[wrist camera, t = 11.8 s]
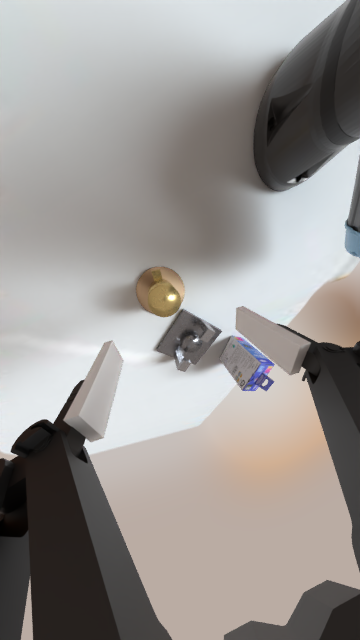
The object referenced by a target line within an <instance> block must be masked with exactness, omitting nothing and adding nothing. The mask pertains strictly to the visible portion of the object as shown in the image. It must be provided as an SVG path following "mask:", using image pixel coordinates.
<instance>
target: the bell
mask: <svg viewBox="0 0 360 640" xmlns="http://www.w3.org/2000/svg"><path fill="white" fill-rule="evenodd" d="M151 272H152V275H153V279H154V282H152V283H151V285H150V286H149V289H148V306H149V308H150V310H151V311H152V312H153V313H154V314H155V315H157V316H160V317H169V316H171V315H173V314H175V313H176V312H177V311H178V309H179V307H180V305H181V297H180V295H179V293H178V291H177V290H176V289H175V288H174V286H173V285H172V284H171V283H170V282H169V281H167V280H165V279H162V275H161V271H160V269H157V270H153V271H151Z"/></svg>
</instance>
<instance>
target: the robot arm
mask: <svg viewBox="0 0 360 640" xmlns="http://www.w3.org/2000/svg"><path fill="white" fill-rule="evenodd" d="M359 138H360V0H346V1H345V2H344V3H343V4H342V5H341V6H340V7H338V8H337V9H336V10H335V11H334V12H333V13H332V14H330V15H329V16H328V17H327V18H326V19H325V20H324V21H322V22H321V23H320V24H319V25H318V26H317V27H316V28H314V29H313V30H312V31H311V32H310V33H309V34H308V35H307V36H305V37H304V38H303V39H302V40H301V41H300V42H299V43H298V44H297V45H296V46H295V47H294V49H293V50H292V51H291V52H290V53H289V55H288V56H287V57H286V59H285V60H284V62H283V63H282V65H281V66H280V68H279V69H278V71H277V72H276V73H275V75H274V76H273V78H272V80H271V81H270V83H269V85H268V87H267V89H266V91H265V94H264V96H263V99H262V102H261V104H260V108H259V111H258V115H257V120H256V125H255V134H254V155H255V161H256V166H257V169H258V172H259V175H260V177H261V178H262V180H263V181H264V183H265V184H266V185H267V186H268V187H270V188H271V189H273V190H277V191H284V190H288V189H290V188H293V187H295V186H297V185H299V184H301V183H303V182H304V181H306V180H307V179H309V178H310V177H311V176H312V175H314V174H315V173H316V172H317V171H318V170H319V169H321V168H322V167H323V166H324V165H325V164H326V163H328V162H329V161H330V160H331V159H332V158H333V157H335V156H336V155H337V154H338V153H339V152H340V151H342V150H343V149H344V148H345V147H346V146H347V145H349V144H350V143H352V142H354V141H356V140H357V139H359ZM345 228H346V237H345V248H346V250H347V251H348V252H349V253H350V254H352V255H353V256H356V257H359V258H360V156H359V162H358V168H357V174H356V180H355V186H354V191H353V197H352V202H351V207H350V212H349V217H348V219H347V221H346V222H345ZM236 330H237V331H238V332H240V333H241V334H242V335H243V336H244V337H245V338H247V339H248V340H249V341H250V342H251V343H252V344H254V345H255V346H256V347H257V348H258V349H259V350H261V351H262V352H263V353H264V354H265V355H267V356H268V357H269V358H270V359H271V360H272V361H274V362H275V363H276V364H277V365H278V366H279V367H281V368H282V369H283V370H284V371H285V372H287V373H288V374H289V375H293V374H295V373H299V371H300V369H301V366H302V367H303V368H305V369H306V371H305V373H304V375H303V378H302V381H305V378H307V382H308V384H309V387H310V390H311V394H312V397H313V400H314V403H315V406H316V409H317V412H318V416H319V419H320V422H321V425H322V428H323V431H324V434H325V437H326V441H327V444H328V447H329V450H330V453H331V456H332V460H333V463H334V466H335V469H336V472H337V475H338V479H339V482H340V485H341V488H342V491H343V494H344V497H345V501H346V504H347V507H348V510H349V513H350V517H351V520H352V545H353V549H354V553H355V557H356V560H357V564H358V567H359V571H360V341H359V342H357V343H356V345H355V346H354V347H350V348H342V347H340V346H338V345H335V344H332V343H324V342H323V343H317V342H315V341H313V340H311V339H310V338H308V337H306V336H304V335H302V334H300V333H297V332H296V331H294V330H292V329H290V328H288V327H286V326H284V325H280V324H275V323H273V322H271V321H270V320H268V319H266V318H264V317H262V316H260V315H258V314H257V313H255V312H253V311H251V310H249V309H247V308H245V307H244V306H242V307H238V308H236ZM122 365H123V359H122V357H121V355H120V353H119V351H118V350H117V348H116V346H115V344H114V342H113V341H109V342H105V343H104V345H103V346H102V348H101V350H100V352H99V354H98V356H97V358H96V360H95V361H94V363H93V365H92V367H91V369H90V371H89V373H88V375H87V376H86V378H85V380H81V381H80V382H79V383H78V384H77V385H76V386H75V388H74V389H73V391H72V393H71V394H70V396H69V398H68V399H67V402H66V403H65V405H64V406H63V408H62V410H61V412H60V413H59V415H58V417H57V418H56V420H55V422H54V424H52V423H51V422H50V421H48V420H41V421H38V422H36V423H35V424H33V425H31V426H30V427H29V428H28V429H26V430H25V431H24V432H23V433H22V434H21V435H20V436H19V437H18V439H17V440H16V441H15V443H14V444H13V446H12V449H11V452H12V453H14V454H16V455H18V456H17V457H15V458H14V459H12V460H10V461H8V460H6V459H4V458H2V459H0V640H21V633H22V626H23V619H24V612H25V606H26V599H27V592H28V586H29V579H30V578H31V600H32V620H33V621H32V622H33V640H172V639H171V637H170V635H169V634H168V632H167V630H166V629H165V628H164V627H163V626H162V624H161V623H160V622H159V621H158V619H157V617H156V615H155V613H154V610H153V608H152V606H151V603H150V601H149V598H148V597H147V594H146V591H145V589H144V586H143V584H142V582H141V579H140V577H139V574H138V572H137V570H136V567H135V565H134V563H133V560H132V558H131V555H130V553H129V551H128V548H127V546H126V543H125V541H124V539H123V536H122V534H121V531H120V529H119V527H118V524H117V522H116V519H115V517H114V515H113V512H112V510H111V508H110V505H109V503H108V500H107V498H106V496H105V493H104V491H103V488H102V486H101V484H100V481H99V479H98V477H97V474H96V472H95V469H94V467H93V464H92V462H91V460H90V457H89V455H88V453H87V450H86V448H85V447H84V446H83V445H84V442H85V439H87V440H89V441H90V442H93V441H96V440H99V439H102V438H104V434H105V431H106V427H107V423H108V419H109V415H110V411H111V407H112V403H113V400H114V396H115V392H116V388H117V384H118V380H119V376H120V372H121V369H122ZM224 640H360V590H358V589H355V588H352V587H349V586H345V585H342V584H339V583H336V582H332V581H329V580H326V581H325V582H323V583H321V584H319V585H317V586H315V587H313V588H311V589H310V590H308V591H306V592H304V593H303V595H302V597H301V599H300V601H299V603H298V604H297V606H296V608H295V610H294V612H293V614H292V615H291V618H290V619H289V621H288V623H287V624H286V625H285V626H279V625H273V624H267V623H262V622H256V621H250V622H248V623H246V624H244V625H242V626H240V627H238V628H237V629H235V630H233V631H231V632H229V633H227V634H226V635H224Z"/></svg>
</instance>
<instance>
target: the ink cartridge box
mask: <svg viewBox="0 0 360 640" xmlns="http://www.w3.org/2000/svg"><path fill="white" fill-rule="evenodd" d="M220 360H221V361H222V363H223V364H224V366H225V367H226V368H227V370H228V371H229V373H230V374H231V375H232V377H233V378H234V380H235V381H236V382H237V384H238V385H239V387H240V388H241V390H243V391H256V390H257V388H258V387H261V388H262V389H264V390H265V391H267V390H268V389H269V387H270V386H271V385H272V384H273V383H274V381H273V380H271V379H270V378H269V377H268V376H267V374H268V373H269V372H270V370H271V369H272V368H273V366H274V364H273V363H272V362H271V361H270V360H269V359H267V358H266V357H265V356H264V355H262V354H261V353H260V352H259V351H258V350H256V349H255V348H254V347H253V346H252V345H250V344H249V343H248V342H247V341H246V340H244V339H243V338H241V337H236V336H231V338H230V340H229V342H228V344H227V346H226V348H225V349H224V351H223V353H222V355H221V357H220ZM265 379H268V384H267V385H266V386H264V387H263V386H262V383H263V382H264V381H265Z"/></svg>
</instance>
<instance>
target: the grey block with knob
mask: <svg viewBox="0 0 360 640" xmlns="http://www.w3.org/2000/svg"><path fill="white" fill-rule="evenodd" d="M221 332H222V331H221V330H220V329H219V328H217V327H215V326H213V325H211V324H210V323H208V322H206V321H204V320H202V319H201V318H199V317H197V316H195V315H193V314H191V313H190V312H188V311H186V310H184V309H183V310H182V311H181V313H180V314H179V316H178V317H177V319H176V320H175V322H174V323H173V325H172V327H171V328H170V330H169V331H168V333H167V334H166V336H165V337H164V339H163V340H162V342H161V343H160V345H159V346H158V348H157V351H158V352H161V353H164V354H167V355H170V356H172V357H174V358H175V362H176V366H177V370H180V371H184V372H185V371H186V369H187V368H188V367H189V365H190V364H191V363H192V364H196V363H197V362H198V360H199V359H200V358H201V357H202V355H203V354H204V353H205V352H206V351H207V349H208V348H209V347H210V346H211V344H212V343H213V342H214V341H215V339H216V338H217V337H218V336H219V334H220V333H221Z"/></svg>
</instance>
